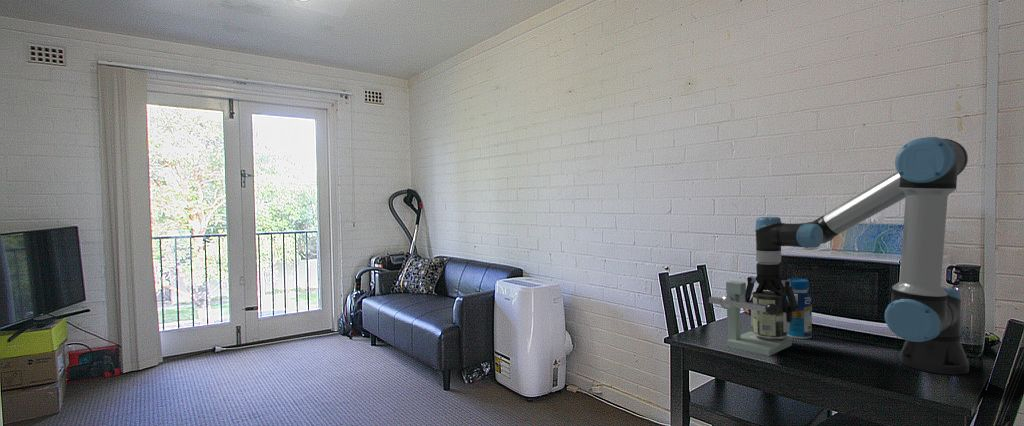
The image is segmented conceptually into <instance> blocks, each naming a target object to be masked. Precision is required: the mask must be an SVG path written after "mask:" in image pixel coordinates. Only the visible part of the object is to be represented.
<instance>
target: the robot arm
mask: <svg viewBox="0 0 1024 426" xmlns="http://www.w3.org/2000/svg"><path fill="white" fill-rule="evenodd" d="M968 156H969V155H968V152H967V150H966V149H965V147H964V146H963V145H962V144H961V143H960V142H957V141H956V140H953V139H949V138H941V137H938V136H927V137H925V136H924V137H920V138H915V139H913V140H910V141H909V142H907V143H906V144H904V145H903V146H902V147H900V149H899V151H898V152H896V155H895V159H894V167H895V170H896V172H894V173H891V174H890V175H889V176H887V177H886V178H884V179H882V180H881V181H879V182H877V183H875V184H874V185H872V186H871V187H869V188H867V189H865V190H864V191H862V192H860V193H858V194H857V195H855V196H854V197H852V198H850V199H848V200H847V201H845V202H844V203H842V204H840V205H839V206H837V207H835V208H833V209H832V210H830V211H828V212H827V213H824V214H823V215H822V216H820V217H818V218H817V219H815V220H813V221H809V222H801V223H784V222H782V220H781V218H780V217H778V216H760V217H758V218H756V220H755V231H754V232H755V243H756V244H755V247H756V249H755V250H756V251H755V258H756V259H755V261H756V267H755V268H756V276H752V275H751V276H748V277H747V279H746V280H747V283H746V284H747V285H746V293H745V302H750V303H753V295H752V293H753V292H755V293H762V292H763V291H774V293H775V294H776V295H777V296H783V295H784V293H785V294H787V297H788V300H787V299H783V307H784V309H785V312H783V331H784V332H788V331H790V324H789V322H792V312H794V311H797V310H798V309H799V308H798V305H797V302H796V299H795V296H794V292H793V289H792V281H791V280H789V281H787V280H784V279H783V277H782V274H783V273H782V268H783V267H782V247H793V248H804V249H808V248H809V249H810V248H811V249H812V248H813V249H816V248H819V247H820V246H821V245H822V244H827V243H828V242H831V241H832V240H833V239H834V238H835V237H837V236H838V235H840V234H842V233H843V232H846V231H847V230H848V229H849V230H850V229H851V228H852V227H854V226H856V225H858V224H860V223H862V222H864V221H865V220H867V219H870V217H873V216H875V215H877V214H878V213H880V212H882V211H884V210H886V209H888V208H889V207H891V206H893V205H896V204H897V203H899V202H901V201H902V200H904V199H905V201H904V214H903V229H902V241H901V242H902V244H901V255H900V256H901V258H900V269H899V270H900V272H899V273H900V274H899V281H898V282H897V283H895V284H894V285H892V286H891V301H890V303H889V304H887V307H886V309H885V310H884V321H885V324H886V326H887V327H888V329H889V330H890V331H891V332H892V333H893V334H894V335H896V336H897V337H899V338H901V339H902V340H905V341H904V343H903V346H902V348H901V351H900V352H899V359H900V362H901V363H902V364H903V365H905V366H906V367H909V368H913V369H914V370H919V371H923V372H928V373H934V374H940V375H941V374H942V375H952V376H953V375H955V376H956V375H957V376H958V375H965V374H968V373H969V372H970V362H969V360H968V357H967V355H966V352H965V350H964V347H963V345H962V341H961V336H962V335H961V332H962V331H961V330H962V329H961V323H962V322H961V320H962V317H961V311H962V310H961V309H962V308H961V306H962V305H961V304H962V299H961V293H960V291H959V290H958V289H957V288H953V287H944V286H943V287H942V274H943V263H944V261H943V260H944V250H945V249H944V247H945V246H944V245H945V236H946V235H945V234H946V225H947V224H946V222H947V209H948V208H947V207H948V197H949V196H950V194H952V193H954V192H955V191H956V190H957V183H958V176H959V175H960V174H961V173H962V172H964V170H965V168H966V167H967V164H968V161H969V157H968ZM756 283H757V284H758V285H757V288H756V289H755V291H754V287H755V284H756ZM782 285H783V287H784V291H785V292H783V289H782V287H781V286H782ZM788 301H789V302H788ZM748 316H749V317H750V326H751V327H754V322H753V310H750V309H748Z"/></svg>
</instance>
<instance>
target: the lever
mask: <svg viewBox="0 0 1024 426" xmlns="http://www.w3.org/2000/svg"><path fill="white" fill-rule="evenodd" d="M708 303H709V304H715V305H720V307H722V308H721V309H724V310H727V309H729V308H732V307H738V308H740V309H745V310H749V309H750V310H756V311H762V312H766V313H767V314H769V315H775V314H777V312H778V307H777V306H776V305H775V304H768V305H763V304H757V303H750V302H744V301H737V300H734V299H733V298H732V297H731V296H727V295H726V296H723V297H716V296H710V297H708Z"/></svg>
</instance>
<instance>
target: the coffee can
mask: <svg viewBox="0 0 1024 426" xmlns="http://www.w3.org/2000/svg"><path fill="white" fill-rule="evenodd" d="M783 293H784V295H783V296H777V295H776V294H775V293H774V291H769V290H764V291H763V292H762V293H755V291H752V294H751V296H753V303H757V304H763V305H768V304H775V305H776V306H777V307H778V312H777V314H775V315H769V314H767V313H766V312H762V311H756V310H753V322H754V326H753V332H754V335H756V336H758V337H762V338H768V339H783V338H786V337H788V336H787V332H784V331H783V312H785V309H784V307H783V299H786V297H787V294H786V292H783Z"/></svg>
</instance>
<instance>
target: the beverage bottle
mask: <svg viewBox="0 0 1024 426" xmlns="http://www.w3.org/2000/svg"><path fill="white" fill-rule="evenodd" d="M789 280H791V281H792V289H793V292H794V296H795V299H796V302H797V305H798V308H799V309H798V310H797V311H794V312H792V322H789V324H790V331H788V332H787V337H792V339H793V338H794V339H799V340H801V339H802V340H804V339H806V340H807V339H810V338H812V336H813V326H812V325H813V324H812V322H813V317H812V316H813V314H812V313H813V305H812V304H811V303H812V296H811V294H810V293H809V292H808V291H809V290H810V281H809V280H808V279H806V278H795V277H794V278H788V279H787V280H786V281H789ZM786 299H787V300H788V297H786ZM788 302H789V301H788Z"/></svg>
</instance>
